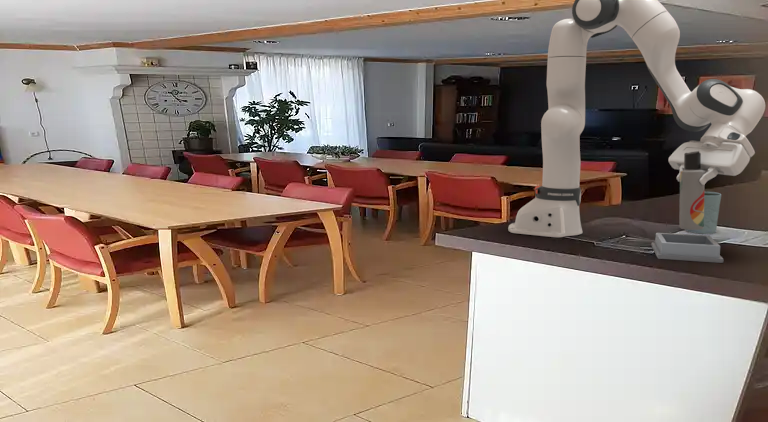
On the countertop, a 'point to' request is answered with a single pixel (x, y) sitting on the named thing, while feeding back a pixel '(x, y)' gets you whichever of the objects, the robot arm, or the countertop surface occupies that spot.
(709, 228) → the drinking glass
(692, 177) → the lotion bottle
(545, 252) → the countertop surface
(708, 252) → the shallow soap dish
